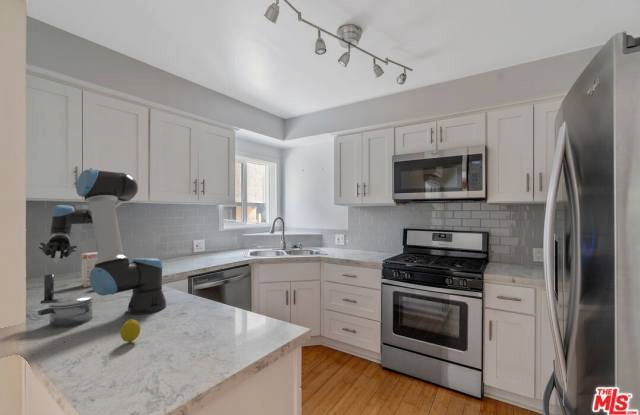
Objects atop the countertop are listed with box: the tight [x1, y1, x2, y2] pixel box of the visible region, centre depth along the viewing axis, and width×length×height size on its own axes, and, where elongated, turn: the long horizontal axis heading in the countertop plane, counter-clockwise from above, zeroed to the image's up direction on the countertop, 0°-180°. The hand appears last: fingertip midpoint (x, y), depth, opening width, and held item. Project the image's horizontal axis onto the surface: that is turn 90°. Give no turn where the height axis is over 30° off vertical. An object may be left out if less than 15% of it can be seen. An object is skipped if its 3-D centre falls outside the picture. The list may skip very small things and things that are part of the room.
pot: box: [37, 298, 94, 329], centre depth 114 cm, size 16×14×8 cm
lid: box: [40, 273, 94, 307], centre depth 115 cm, size 17×13×11 cm
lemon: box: [120, 318, 141, 344], centre depth 97 cm, size 6×6×8 cm
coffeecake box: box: [81, 251, 98, 288], centre depth 176 cm, size 15×7×20 cm, turn 144°
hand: (56, 259), depth 119 cm, fingers closed
